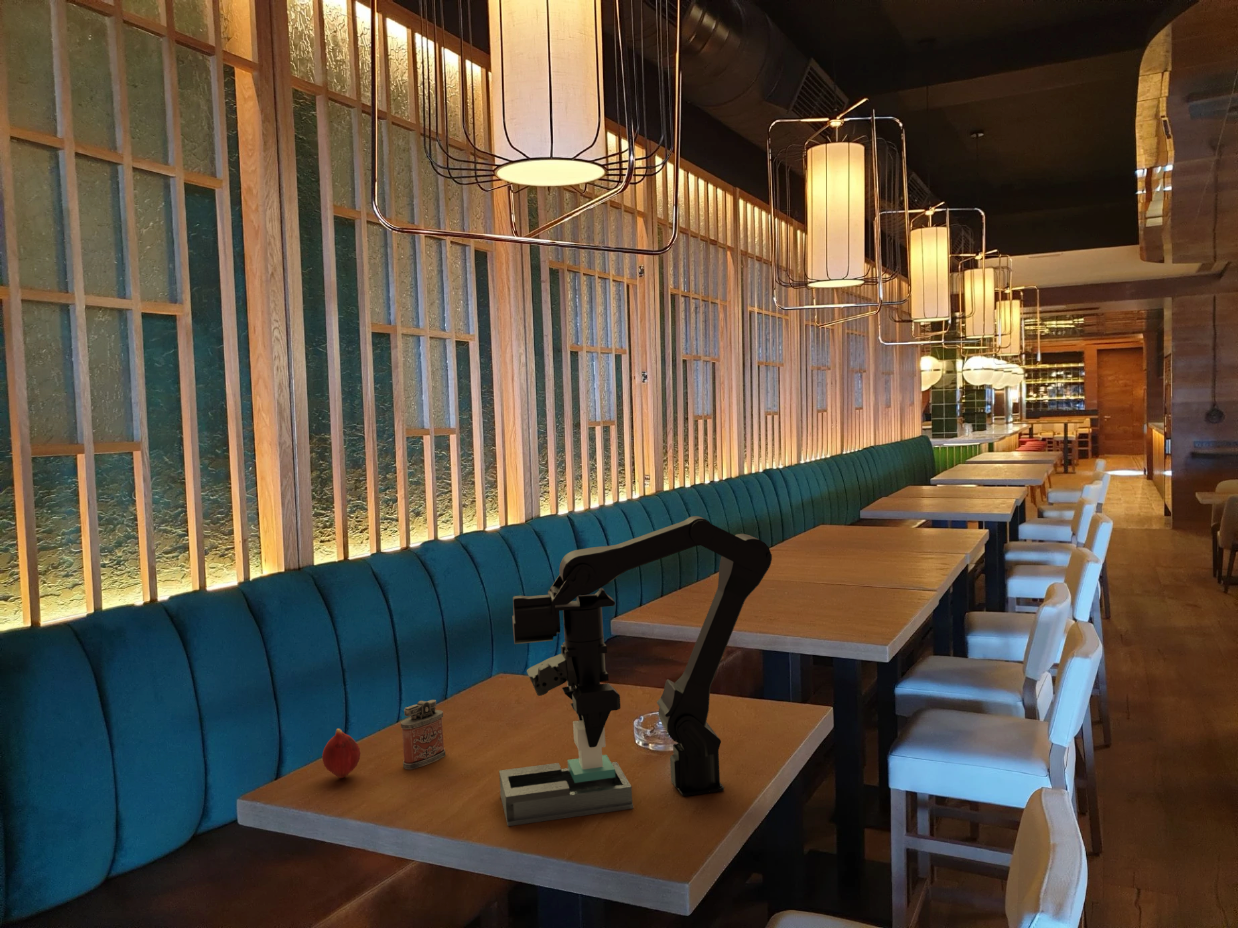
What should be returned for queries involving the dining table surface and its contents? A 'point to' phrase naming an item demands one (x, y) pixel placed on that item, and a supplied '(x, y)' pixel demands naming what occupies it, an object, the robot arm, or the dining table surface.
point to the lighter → (422, 735)
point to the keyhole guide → (559, 794)
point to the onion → (341, 754)
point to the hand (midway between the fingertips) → (589, 741)
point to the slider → (589, 758)
